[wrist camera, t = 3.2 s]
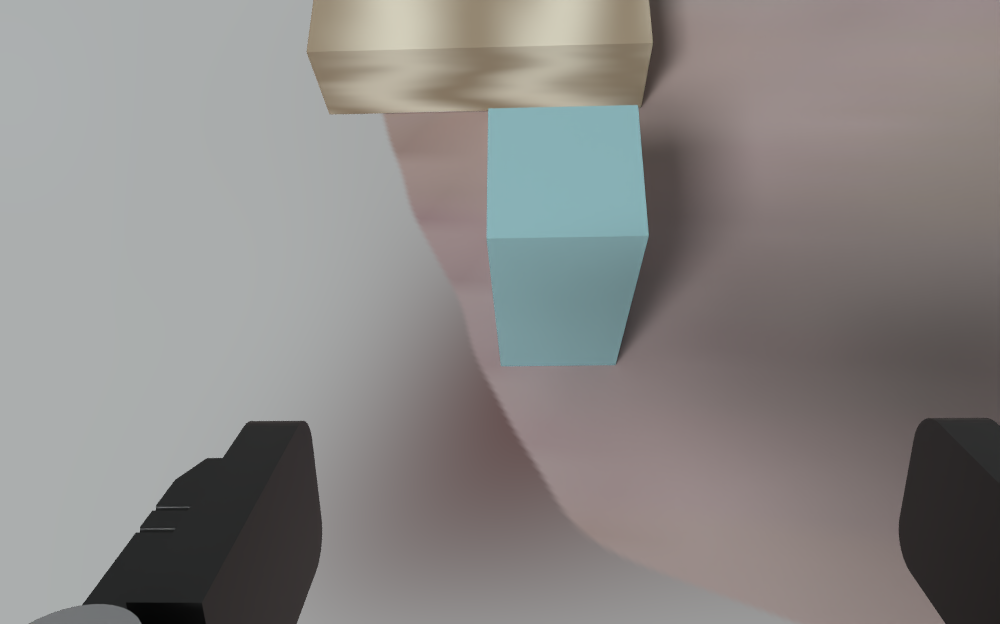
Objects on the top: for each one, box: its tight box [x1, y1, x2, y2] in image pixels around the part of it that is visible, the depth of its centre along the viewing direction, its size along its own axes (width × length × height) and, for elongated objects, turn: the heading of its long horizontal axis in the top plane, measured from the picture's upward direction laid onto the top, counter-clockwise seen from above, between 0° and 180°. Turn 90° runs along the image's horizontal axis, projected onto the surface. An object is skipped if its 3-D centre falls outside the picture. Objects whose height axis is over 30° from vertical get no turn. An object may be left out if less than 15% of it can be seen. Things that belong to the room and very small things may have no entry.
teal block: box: [487, 105, 649, 366], centre depth 27 cm, size 4×4×10 cm
